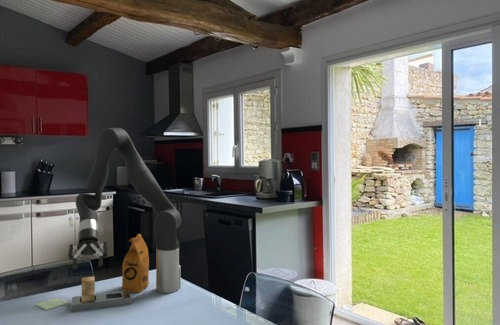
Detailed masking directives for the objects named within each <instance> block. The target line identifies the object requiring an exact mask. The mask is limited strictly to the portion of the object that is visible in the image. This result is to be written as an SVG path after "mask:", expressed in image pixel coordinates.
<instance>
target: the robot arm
mask: <svg viewBox="0 0 500 325" xmlns="http://www.w3.org/2000/svg"><path fill="white" fill-rule="evenodd" d="M96 148H97V149H96V152H95V158H94V162H93V167H92V169H91V172H90V175H89V176H88V179H87V183H86V186H85V187H86V189H87V190H88V191H89V192H91V194H90V193H86V192H81V193H79V194H78V195H77V196H76V198H75V207H76V210H77V212H78V216H79V225H78V233H77V234H78V240H77V244H76V245H75V244H73V243H70V245H69V247H68V249H69V250H68V257H67V258H68V261H73V263H72V267H73V269H74V270H78V260H79V259H80V258H81V257H83V256H88V255H89V256H92V255H94V256H95V257H97V258H98V268H102V266H103V263H104V260H103V259H105V258H108V245H107V243H108V242H107V241H104V242H103V243H100V241H99V225H98V213H97V211H99V209H100V208H101V206H102V197H103V191H104V187H105V185H106V183H107V179H108V176H109V160H110V157H111V155H112V153H113V151H114V150H116V151H117V152H118V153H119V155H120V156H121V157H122V160H123V161H124V164H125V169H126V175H127V178H128V180H129V182H130V184H131V185H132V187H133V188H134V190H135V191H136V193H138V194H139V196H141V198H143V199H144V200H145V201H146V202H148V203H149V204H150V205H151V206H152V208H153V209H154V210H155V212H156V216H155V217H154V218H155V219H154V225H153V226H154V227H153V228H154V230H153V231H154V243H155V245H156V248H155V249H156V250H155V251H156V253H155V254H156V255H155V256H156V261H155V262H156V265H155V270H156V273H155V278H156V279H155V287H156V288H155V291H156V292H158V293H159V294H170V293H175V292H177V291H179V289H181V283H182V282H181V281H182V280H181V279H182V278H181V274H182V273H181V271H182V268H181V265H180V241H179V240H178V238H177V230H178V229H179V228H180V226H181V225H182V216H181V214H180V212H179V211H178V209H177V208H176V207H175V206H174V205H173V203H172V202H171V201H170V200H169V198H168V197H167V195H166V194H165V193H164V191H163V189H162V188H161V186H160V184H159V183H158V181H157V180H156V178H155V177H154V174H152V172H151V170H150V169H149V168H148V166H147V165H146V164H145V162H144V160H143V158H142V157H141V155H140V154H139V152H138V151H137V149H136V147H135V144H134V143H133V141H132V139H131V137H130V136H129V134H128V132H127V131H126V130H125V129H124V128H121V127H107V128H105V129H103V130H102V131H101V132H100V135H99V139H98V143H97V147H96ZM92 193H93V194H92ZM99 248H101V249H102V250H103V253H102V252H101V251H100V249H99ZM75 250H77V251H76V253H75V254H74V255H73V253H74V251H75Z"/></svg>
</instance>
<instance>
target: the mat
mask: <svg viewBox="0 0 500 325" xmlns="http://www.w3.org/2000/svg"><path fill="white" fill-rule="evenodd" d="M66 305H69V302H68V301H66V300H63V299H61V298H60V297H56V298H51V299H49V300H45V301H42V302H39V303H35V306H36V307H37V308H40V309H42V310H45V311H50V310H54V309H56V308H60V307H63V306H66Z"/></svg>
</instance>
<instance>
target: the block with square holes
mask: <svg viewBox="0 0 500 325" xmlns="http://www.w3.org/2000/svg"><path fill="white" fill-rule="evenodd" d="M128 305H129V306H130V305H131V295H130V292H128V290H127V291H123V290H119V291H112V292H105V293H104V292H103V293H95V301H88V302H82V295H78V296H77V295H76V296H72V297H71V305H70V308H71V311H70V312H71V313H75V312H77V313H78V312H84V311H91V310H99V309H106V308H107V309H108V308H114V307H115V308H116V307H120V306H121V307H123V306H128Z"/></svg>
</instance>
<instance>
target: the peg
mask: <svg viewBox="0 0 500 325" xmlns="http://www.w3.org/2000/svg"><path fill="white" fill-rule="evenodd" d="M95 284H96V280H95V276H85V277H81V296H82V302H88V301H95V294H96V292H95V291H96V285H95Z"/></svg>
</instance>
